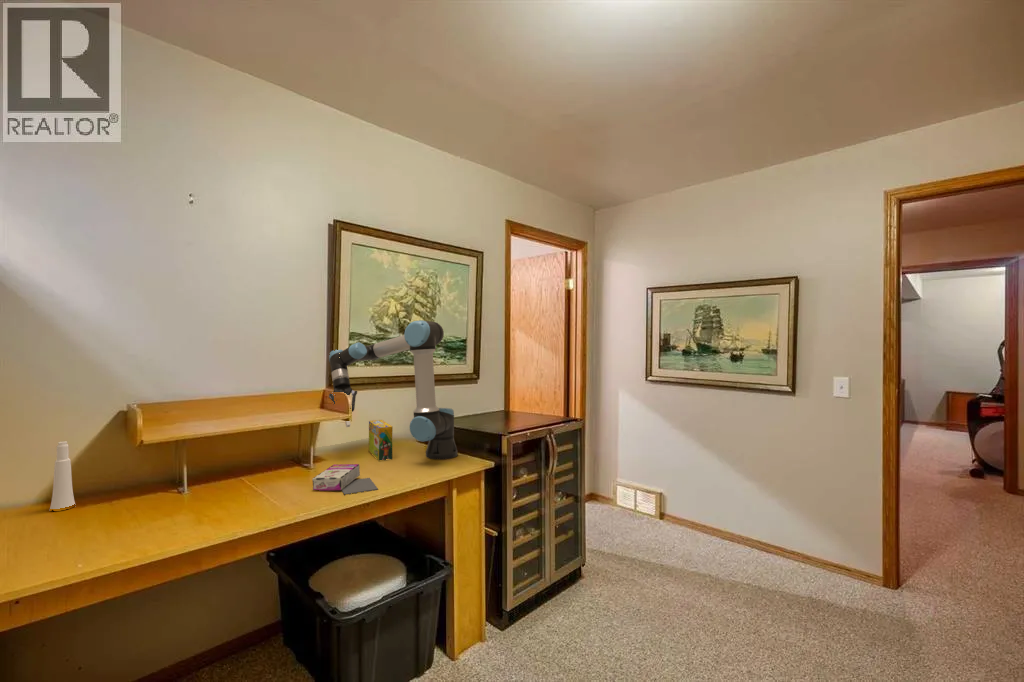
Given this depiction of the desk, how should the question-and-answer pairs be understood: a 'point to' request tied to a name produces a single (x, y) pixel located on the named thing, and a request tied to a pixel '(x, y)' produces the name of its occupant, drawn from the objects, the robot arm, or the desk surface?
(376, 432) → the fingerpaint box
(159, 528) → the desk surface
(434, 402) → the robot arm
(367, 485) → the mat
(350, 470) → the candy bar box
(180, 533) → the desk surface
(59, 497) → the cosmetic bottle
